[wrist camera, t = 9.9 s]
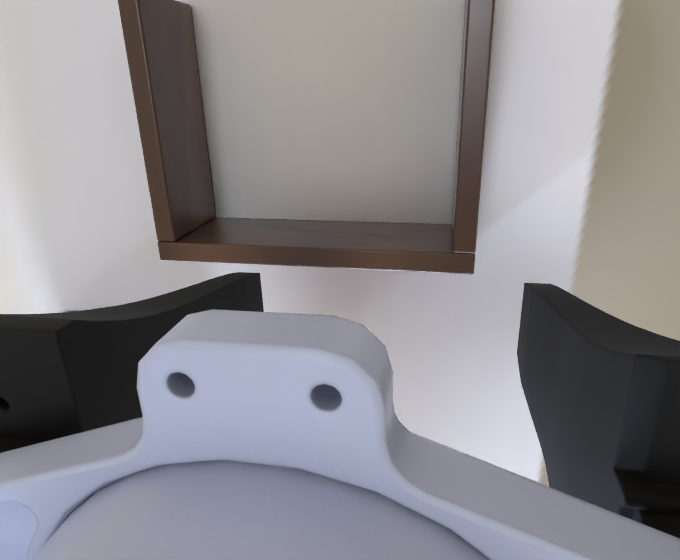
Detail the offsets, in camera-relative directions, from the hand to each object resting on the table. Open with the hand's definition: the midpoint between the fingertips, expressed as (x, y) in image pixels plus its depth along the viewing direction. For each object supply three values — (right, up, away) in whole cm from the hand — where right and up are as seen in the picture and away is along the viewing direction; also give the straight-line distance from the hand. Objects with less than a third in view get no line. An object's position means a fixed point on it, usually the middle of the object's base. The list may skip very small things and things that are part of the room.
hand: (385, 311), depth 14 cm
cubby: (-2, +7, +8) cm, 11 cm away
